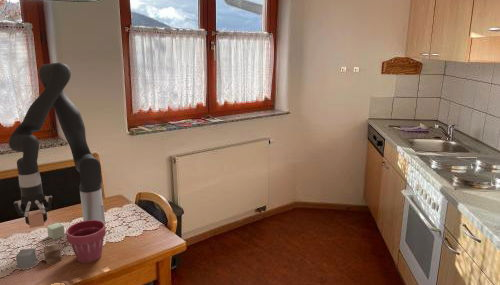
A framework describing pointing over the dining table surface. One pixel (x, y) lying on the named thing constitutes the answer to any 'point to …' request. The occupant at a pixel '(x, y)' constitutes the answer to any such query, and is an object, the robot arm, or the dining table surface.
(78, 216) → the dining table surface
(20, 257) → the slate cube
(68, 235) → the plant pot
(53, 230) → the sage cube
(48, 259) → the walnut cube
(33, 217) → the terracotta cube
